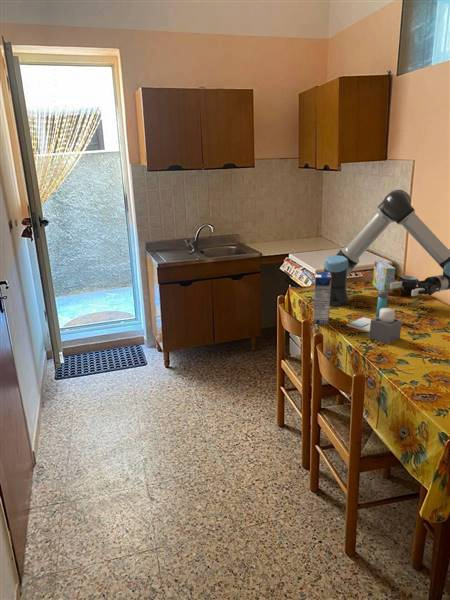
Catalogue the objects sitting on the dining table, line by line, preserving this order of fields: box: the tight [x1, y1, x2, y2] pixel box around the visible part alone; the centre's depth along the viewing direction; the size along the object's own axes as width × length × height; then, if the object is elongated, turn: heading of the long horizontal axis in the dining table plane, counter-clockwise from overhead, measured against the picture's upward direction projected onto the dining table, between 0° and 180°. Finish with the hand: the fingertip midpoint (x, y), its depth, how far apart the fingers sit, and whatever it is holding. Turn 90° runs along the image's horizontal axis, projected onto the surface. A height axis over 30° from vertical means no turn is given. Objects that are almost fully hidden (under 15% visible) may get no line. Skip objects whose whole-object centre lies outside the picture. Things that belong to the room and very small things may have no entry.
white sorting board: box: [346, 316, 373, 334], centre depth 202 cm, size 14×14×1 cm
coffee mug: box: [398, 274, 419, 298], centre depth 245 cm, size 12×9×10 cm
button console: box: [368, 316, 403, 345], centre depth 187 cm, size 9×9×8 cm
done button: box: [379, 307, 396, 324], centre depth 185 cm, size 6×6×5 cm
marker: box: [375, 290, 389, 318], centre depth 208 cm, size 4×4×13 cm
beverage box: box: [312, 271, 332, 326], centre depth 205 cm, size 7×11×22 cm, turn 169°
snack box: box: [371, 259, 396, 296], centre depth 254 cm, size 21×6×15 cm, turn 179°
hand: (401, 289), depth 209 cm, fingers open, 13 cm apart
